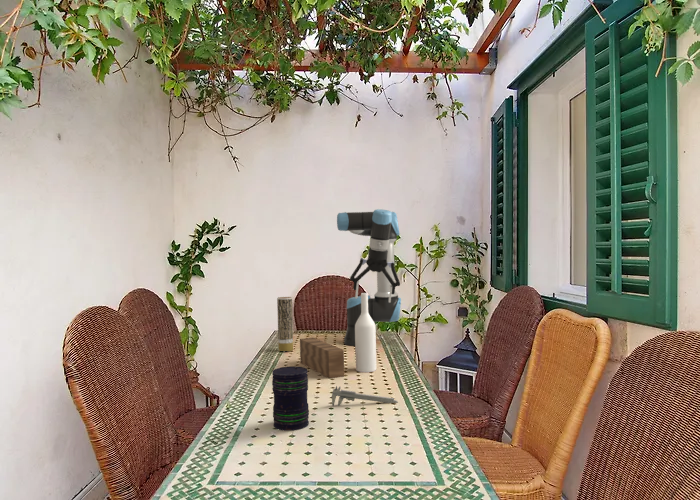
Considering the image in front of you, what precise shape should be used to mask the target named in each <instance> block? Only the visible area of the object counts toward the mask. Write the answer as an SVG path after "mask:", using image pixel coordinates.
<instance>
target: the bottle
mask: <svg viewBox="0 0 700 500" xmlns="http://www.w3.org/2000/svg"><path fill="white" fill-rule="evenodd" d="M368 295H369V293H368V292H361V295H360V296H361V315H360V317H359V318H358V320H357V322H356V324H355V346H354V347H355V349H354V350H355V351H354V353H355V370H356V371H357V372H359V373H372V372H375V371H377V339H376V338H377V337H376V336H377V334H376V333H377V332H376V323H375V322H374V321H373V320H372V318H371V317H370V315H369V313H368Z"/></svg>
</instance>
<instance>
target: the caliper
mask: <svg viewBox="0 0 700 500" xmlns="http://www.w3.org/2000/svg"><path fill="white" fill-rule="evenodd" d="M337 397H339V398H338V402H337V406H338V407H340V406H341V404H342V403H343V401H344V399H345V400H347V401H352V402H354V401H355V399H356V400H363V401H364V400H365V401H372V402H376V403H377V402H378V403H383V404H384V403H386V404H394V403H395V404H396V403H399V402H398V400H396V399H395V398H393V397H387V396H379V395H372V394H365V393H364V394H363V393H357V392H356V391H353V390H346V389H341V386H337V385H336V386H335V388H333V390H332V393H331V405H332V406H333V407H334V406H335V403H336V398H337Z"/></svg>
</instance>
